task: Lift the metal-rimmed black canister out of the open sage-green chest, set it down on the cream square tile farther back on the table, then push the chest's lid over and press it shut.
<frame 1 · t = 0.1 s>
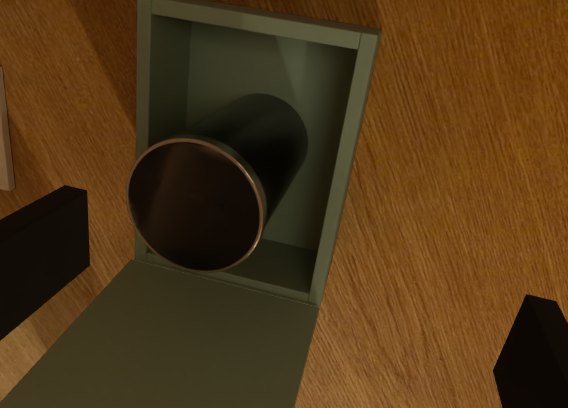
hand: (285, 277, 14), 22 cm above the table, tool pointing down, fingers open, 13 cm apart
metal-rimmed black canister: (261, 141, 35), point 1 cm above the table, touching chest
chest lid: (160, 395, 24), point 17 cm above the table, hinge at 95.0°
chest: (265, 137, 35), on the table
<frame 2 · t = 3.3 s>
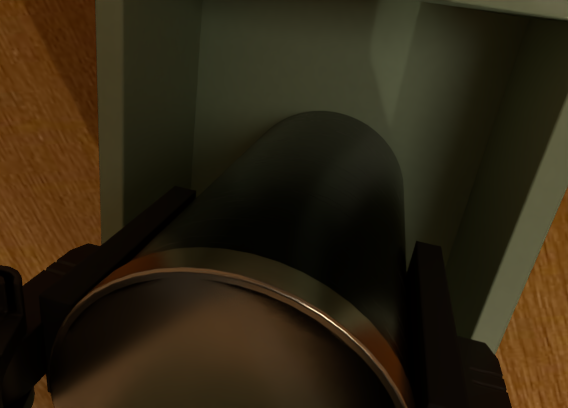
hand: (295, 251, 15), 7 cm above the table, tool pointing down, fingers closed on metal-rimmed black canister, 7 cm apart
metal-rimmed black canister: (321, 190, 20), point 1 cm above the table, touching chest, gripper
chest: (324, 183, 21), on the table
when the fingers open (6 cm above the table, at t = 11.9 s): metal-rimmed black canister stays where it is, resting on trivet.
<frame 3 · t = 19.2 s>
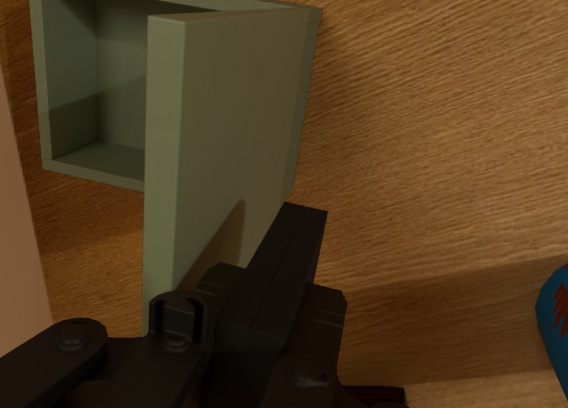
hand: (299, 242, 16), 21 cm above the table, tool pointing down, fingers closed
chest lid: (247, 179, 20), point 17 cm above the table, hinge at 92.5°, touching gripper
chest: (196, 83, 37), on the table
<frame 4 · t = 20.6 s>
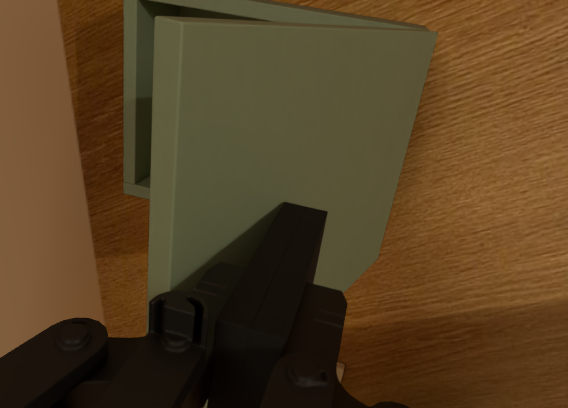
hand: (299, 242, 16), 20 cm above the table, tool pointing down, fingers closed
chest lid: (323, 200, 20), point 16 cm above the table, hinge at 70.4°, touching gripper
chest: (280, 103, 35), on the table
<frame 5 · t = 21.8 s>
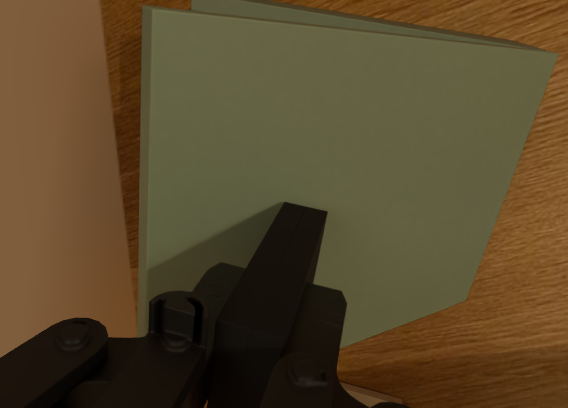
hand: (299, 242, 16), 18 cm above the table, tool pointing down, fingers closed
chest lid: (369, 212, 19), point 14 cm above the table, hinge at 45.9°, touching gripper
chest: (346, 123, 32), on the table
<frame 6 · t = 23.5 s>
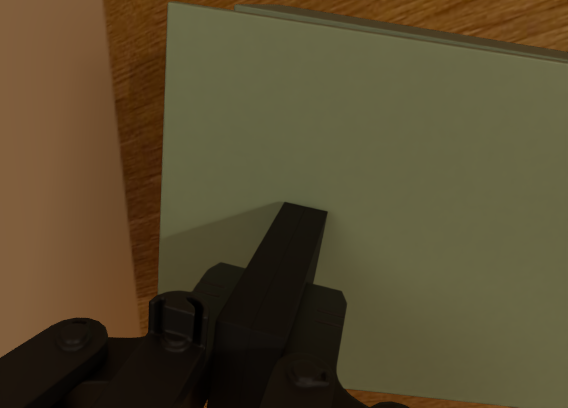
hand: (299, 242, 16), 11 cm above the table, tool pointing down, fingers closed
chest lid: (421, 246, 17), point 9 cm above the table, hinge at 12.5°
chest: (417, 166, 25), on the table
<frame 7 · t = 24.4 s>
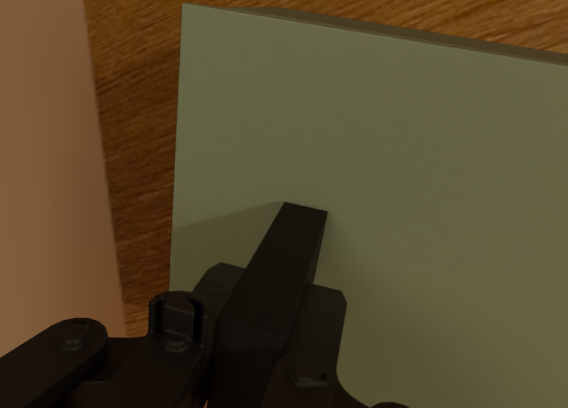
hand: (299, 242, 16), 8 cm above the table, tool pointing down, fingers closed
chest lid: (433, 261, 16), point 8 cm above the table, hinge at 1.7°, touching gripper
chest: (432, 186, 23), on the table
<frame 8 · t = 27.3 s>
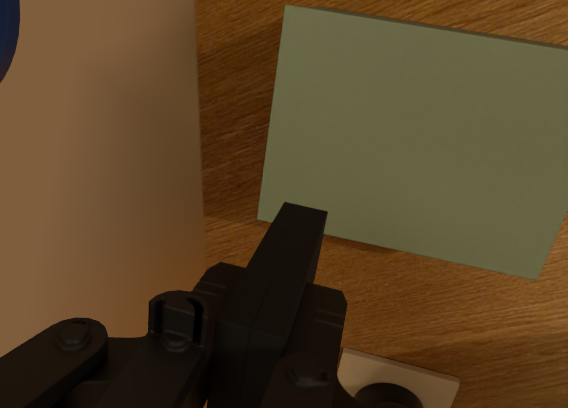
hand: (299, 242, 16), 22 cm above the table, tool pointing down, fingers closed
chest lid: (418, 149, 29), point 8 cm above the table, hinge at 1.6°
chest: (420, 122, 35), on the table
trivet: (386, 403, 46), on the table
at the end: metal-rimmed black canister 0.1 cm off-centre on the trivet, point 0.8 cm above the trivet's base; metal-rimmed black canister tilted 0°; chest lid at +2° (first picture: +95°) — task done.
